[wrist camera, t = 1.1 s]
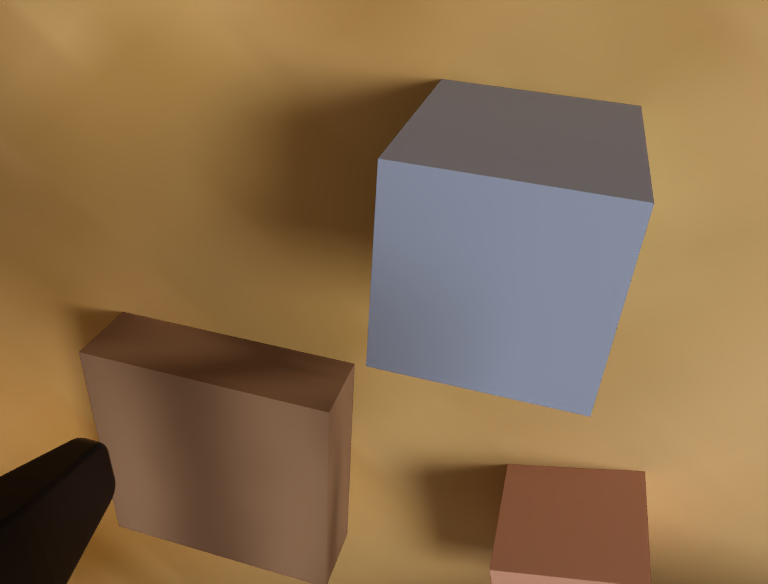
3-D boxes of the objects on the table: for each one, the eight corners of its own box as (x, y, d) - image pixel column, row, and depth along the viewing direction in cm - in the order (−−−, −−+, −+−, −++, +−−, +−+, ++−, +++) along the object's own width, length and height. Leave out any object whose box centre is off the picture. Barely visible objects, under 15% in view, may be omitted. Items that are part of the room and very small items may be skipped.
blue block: (641, 105, 17) (654, 203, 12) (595, 278, 19) (590, 416, 15) (442, 78, 18) (378, 158, 13) (424, 246, 20) (365, 366, 16)
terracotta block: (644, 469, 23) (651, 587, 19) (646, 561, 25) (652, 683, 21) (508, 462, 24) (489, 569, 20) (520, 550, 26) (505, 661, 22)
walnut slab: (357, 356, 24) (329, 412, 21) (350, 526, 29) (325, 587, 26) (129, 306, 26) (79, 352, 23) (158, 473, 30) (119, 526, 28)
